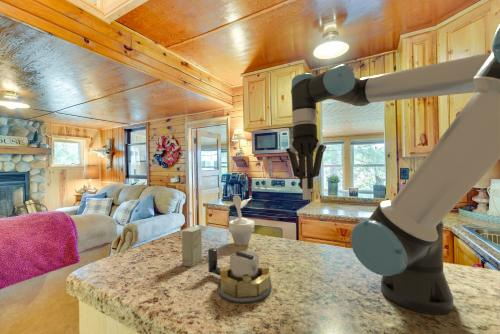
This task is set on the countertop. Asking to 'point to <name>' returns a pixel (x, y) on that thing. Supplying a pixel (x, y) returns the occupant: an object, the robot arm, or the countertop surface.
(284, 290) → the countertop surface
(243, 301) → the housing
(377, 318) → the countertop surface
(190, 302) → the countertop surface
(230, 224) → the potted plant
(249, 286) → the tan handled ring
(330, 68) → the robot arm
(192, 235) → the skincare box
